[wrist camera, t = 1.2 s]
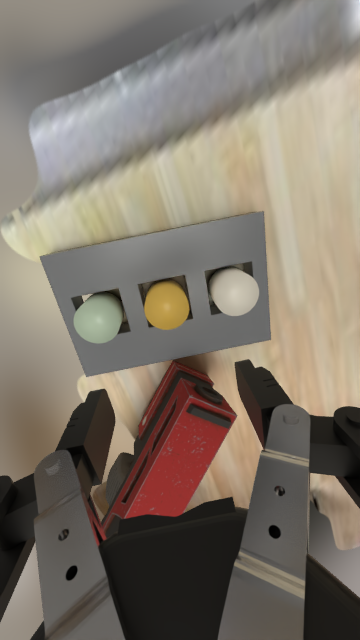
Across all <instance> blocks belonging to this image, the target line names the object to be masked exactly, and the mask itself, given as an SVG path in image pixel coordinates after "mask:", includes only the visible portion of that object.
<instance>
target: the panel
mask: <svg viewBox="0 0 360 640" xmlns="http://www.w3.org/2000/svg"><path fill="white" fill-rule="evenodd" d="M40 260H41V262H42V265H43V267H44V270H45V272H46V275H47V278H48V280H49V283H50V285H51V288H52V290H53V293H54V295H55V298H56V300H57V303H58V306H59V308H60V311H61V313H62V316H63V318H64V321H65V324H66V326H67V329H68V331H69V334H70V336H71V339H72V342H73V344H74V347H75V349H76V352H77V354H78V357H79V360H80V362H81V365H82V367H83V370H84V372H85V375H86V377H88V376H93V375H98V374H103V373H108V372H113V371H118V370H123V369H128V368H133V367H138V366H143V365H148V364H153V363H158V362H163V361H168V360H173V359H178V358H183V357H188V356H193V355H198V354H203V353H208V352H213V351H218V350H223V349H227V348H232V347H237V346H242V345H247V344H252V343H257V342H262V341H267V340H271V331H270V313H269V295H268V278H267V260H266V242H265V224H264V211H262V212H252V213H247V214H242V215H238V216H233V217H228V218H223V219H218V220H213V221H208V222H203V223H198V224H193V225H188V226H183V227H178V228H173V229H168V230H163V231H158V232H153V233H148V234H143V235H138V236H133V237H129V238H124V239H119V240H114V241H109V242H104V243H99V244H94V245H89V246H84V247H79V248H74V249H69V250H64V251H59V252H54V253H50V254H47V255H43V256H40ZM240 263H244V272H245V273H247V274H248V275H250V276H251V277H253V278H254V279H255V281H256V282H257V284H258V287H259V297H258V300H257V302H256V304H255V306H254V307H253V308H252V309H251V310H250V311H249V312H247V313H245V314H243V315H240V316H230V315H226V314H224V313H223V312H222V311H220V310H219V308H218V307H217V305H213V306H210V305H209V298H208V292H207V285H206V278H205V272H204V271H206V270H211V269H216V268H221V267H226V266H230V265H235V264H240ZM181 275H184V279H185V284H186V289H187V295H188V300H189V306H190V310H189V314H188V317H187V319H186V320H185V321H184V323H183V324H182V325H180V326H179V327H177V328H174V329H170V330H163V329H159V328H156V327H155V326H153V325H152V324H151V323H150V322H149V321H148V320H147V318H146V316H145V312H144V306H145V297H144V293H143V289H142V285H141V283H146V282H151V281H156V280H161V279H166V278H171V277H176V276H181ZM116 288H119V292H120V295H121V299H122V302H123V306H124V309H125V313H126V316H127V320H128V323H124V324H121V326H120V328H119V331H118V333H117V335H116V336H115V337H114V338H113V339H112V340H110V341H108V342H106V343H92V342H89V341H86V340H85V339H83V338H82V337H81V336H80V335H79V334H78V333H77V331H76V329H75V327H74V315H75V313H76V311H77V310H78V308H79V307H80V306H81V305H82V304H83V303H84V302H83V299H82V295H87V294H92V293H97V292H102V291H107V290H111V289H116Z"/></svg>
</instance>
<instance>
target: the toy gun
mask: <svg viewBox="0 0 360 640" xmlns="http://www.w3.org/2000/svg"><path fill="white" fill-rule="evenodd" d="M213 385H214V383H213V382H212V381H211V379H210V378H209V377H208V376H207V375H205V374H203V373H200V372H198V371H196V370H194V369H192V368H189V367H187V366H185V365H183V364H181V363H178V362H176V361H174V360H173V361H172V363H171V365H170V367H169V369H168V370H167V372H166V374H165V376H164V378H163V380H162V382H161V384H160V386H159V388H158V390H157V392H156V393H155V395H154V397H153V399H152V401H151V403H150V405H149V407H148V409H147V411H146V413H145V414H144V416H143V418H142V420H141V422H140V424H139V426H138V427H139V435H138V437H137V438H136V440H135V442H134V455H131V454H129V453H124V452H123V453H120V455H119V456H118V458H117V459H116V461H115V463H114V465H113V466H112V468H111V470H110V472H109V475H108V479H107V485H106V499H107V502H108V504H109V509H108V512H107V514H106V515H105V517H104V518H103V520H102V522H101V525H102V528H103V531H104V533H105V536H106V539H107V538H108V537H109V536H111V535H112V534H114V533H116V532H118V529H119V521H120V520H121V519H126V518H131V517H136V516H141V515H145V514H151V515H162V516H173V517H176V516H179V515H181V514H183V513H184V511H185V509H186V508H187V506H188V504H189V502H190V500H191V499H192V497H193V495H194V493H195V491H196V490H197V488H198V486H199V484H200V482H201V480H202V479H203V477H204V475H205V473H206V471H207V470H208V468H209V466H210V464H211V462H212V461H213V459H214V457H215V455H216V453H217V452H218V450H219V448H220V446H221V444H222V442H223V441H224V439H225V437H226V435H227V433H228V432H229V430H230V428H231V426H232V424H233V423H234V421H235V419H236V417H237V415H236V413H235V412H234V411H233V409H232V408H231V407H230V405H229V404H228V403H227V401H226V400H225V399H224V397H223V396H222V395H220V394H219V393H218V392H217V391H215V390H214V389H213V388H212V387H213Z"/></svg>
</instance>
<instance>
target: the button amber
mask: <svg viewBox="0 0 360 640" xmlns="http://www.w3.org/2000/svg"><path fill="white" fill-rule="evenodd" d="M144 312H145V316H146V318H147V320H148V321H149V322H150V323H151V324H152V325H153V326H155V327H156V328H159V329H163V330H170V329H174V328H177V327H179V326H180V325H182V324H183V323H184V321H185V320H186V319H187V317H188V314H189V303H188V300H187V297H186V294H185V291H184V289H183V288H182V286H181V285H180V284H178V283H177V282H175V281H173V280H168V279H164V280H159V281H157V282H155V283H154V284H152V285H151V287H150V288H149V290H148V292H147V295H146V300H145V306H144Z"/></svg>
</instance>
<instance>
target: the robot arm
mask: <svg viewBox="0 0 360 640" xmlns="http://www.w3.org/2000/svg"><path fill="white" fill-rule="evenodd" d="M235 371H236V379H237V386H238V391H239V395H240V398H241V400H242V402H243V405H244V407H245V409H246V411H247V413H248V416H249V418H250V420H251V422H252V424H253V427H254V429H255V431H256V433H257V435H258V438H259V440H260V442H261V444H262V447H263V449H264V450H262V451H261V454H260V458H259V462H258V467H257V472H256V476H255V481H254V486H253V490H252V495H251V500H250V504H249V509H245V508H241V507H235V505H234V501H233V498H232V497H229V498H224V499H219V500H214V501H209V502H205V503H203V504H201V505H199V506H197V507H195V508H193V509H191V510H189V511H187V512H185V513H183V514H181V515H179V516H176V517H173V516H162V515H151V514H145V515H141V516H136V517H131V518H126V519H121V520H120V521H119V529H118V532H116V533H114V534H112V535H111V536H109V537H108V538H107V539H106V536H105V533H104V531H103V528H102V525H101V522H100V519H99V517H98V514H97V511H96V508H95V505H94V503H93V500H92V497H91V495H90V492H91V488H92V486H95V485H100V484H102V479H103V475H104V470H105V466H106V461H107V457H108V452H109V448H110V443H111V439H112V435H113V431H114V426H115V413H114V410H113V407H112V405H111V402H110V399H109V397H108V394H107V391H106V390H105V389H100V390H95V391H90V392H89V394H88V396H87V398H86V401H85V403H81V404H80V405H79V406H78V407H77V408H76V409H75V410H74V411H73V413H72V415H71V418H70V421H69V422H68V424H67V428H66V429H65V431H64V433H63V435H62V437H61V440H60V442H59V444H58V446H57V448H56V450H55V452H53V453H51V454H49V455H48V456H46V457H45V458H44V459H43V460H42V461H41V462H40V463H39V464H38V465H37V467H36V469H35V471H34V473H33V474H31V475H29V476H27V477H24V478H23V479H20V480H18V481H16V482H13V481H12V479H11V478H10V477H9V476H0V622H1V619H2V617H3V615H4V612H5V610H6V608H7V605H8V603H9V601H10V599H11V596H12V594H13V592H14V589H15V587H16V585H17V582H18V580H19V578H20V576H21V573H22V571H23V569H24V566H25V564H26V562H27V560H28V557H29V555H30V553H31V550H32V548H33V546H34V543H35V541H36V550H37V560H38V569H39V579H40V588H41V598H42V607H43V617H44V621H43V622H42V624H41V625H40V627H39V628H38V629H37V631H36V632H35V634H34V635H33V636H32V638H31V639H30V640H360V598H359V597H358V596H357V595H356V594H355V593H354V592H352V591H351V590H350V589H349V588H348V587H347V586H345V585H344V584H343V583H342V582H341V581H340V580H339V579H337V578H336V577H335V576H334V575H333V574H331V573H330V572H329V571H328V570H327V569H326V568H325V567H323V566H322V565H321V564H320V563H319V562H318V561H316V560H315V559H314V558H313V557H312V556H310V555H309V554H308V548H309V498H310V473H317V474H325V475H334V476H335V477H336V478H337V479H338V481H339V482H340V483H341V485H342V486H343V487H344V489H345V490H346V491H347V493H348V494H349V495H350V496H351V498H352V499H353V500H354V502H355V503H356V504H357V506H358V507H359V508H360V408H357V407H350V406H347V407H341V408H339V409H337V410H336V411H335V412H334V417H325V416H314V415H309V414H308V412H307V411H306V410H304V409H303V408H301V407H299V406H297V405H294V404H293V403H292V401H291V400H290V399H289V397H288V396H287V394H286V393H285V392H284V390H283V389H282V388H281V386H280V385H279V383H278V382H277V381H276V379H275V378H274V377H273V375H272V374H271V372H270V371H268V370H266V369H265V368H263V367H258V368H255V367H254V366H253V364H252V363H251V361H250V360H249V359H248V360H243V361H238V362H235Z"/></svg>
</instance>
